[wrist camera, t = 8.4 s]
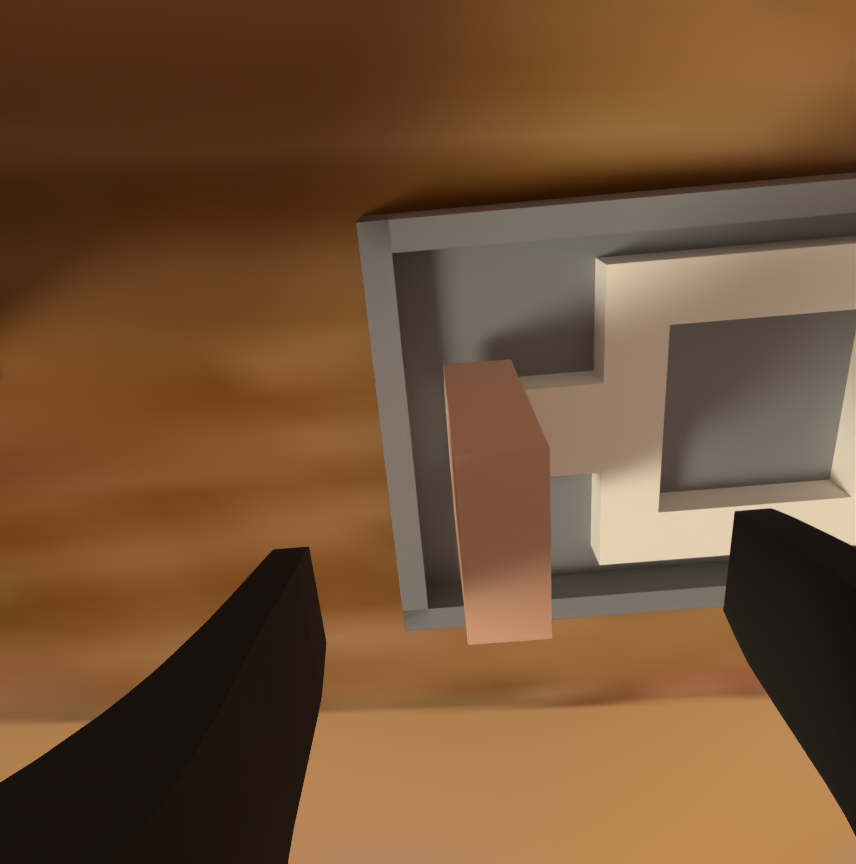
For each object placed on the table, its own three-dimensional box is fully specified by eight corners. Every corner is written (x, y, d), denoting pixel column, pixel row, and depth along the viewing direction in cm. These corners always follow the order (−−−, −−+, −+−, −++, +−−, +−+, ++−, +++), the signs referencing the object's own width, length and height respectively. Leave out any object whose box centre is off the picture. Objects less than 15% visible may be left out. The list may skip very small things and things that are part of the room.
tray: (405, 598, 20) (405, 631, 19) (361, 215, 16) (356, 222, 14) (930, 556, 20) (968, 587, 19) (1032, 156, 16) (1092, 157, 14)
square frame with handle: (457, 555, 19) (473, 722, 14) (435, 271, 16) (445, 339, 10) (875, 522, 19) (1063, 679, 13) (937, 228, 16) (1219, 274, 10)
